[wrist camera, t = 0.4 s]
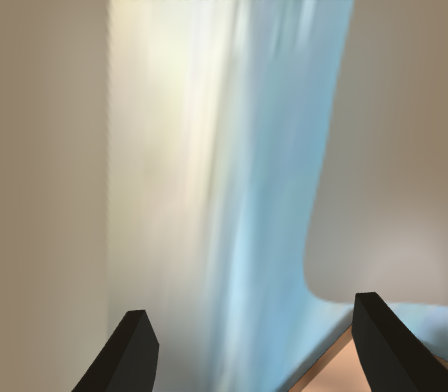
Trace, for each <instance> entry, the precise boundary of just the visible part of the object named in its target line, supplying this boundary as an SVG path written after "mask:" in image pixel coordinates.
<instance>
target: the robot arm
mask: <svg viewBox="0 0 448 392" xmlns="http://www.w3.org/2000/svg"><path fill="white" fill-rule="evenodd" d="M351 333H352V337H353V340H354V344H355V348H356V351H357V354H358V358H359V361H360V364H361V367H362V369H363V372H364V374H365V377H366V379H367V382H368V384H369V387H370V389H371V392H448V369H447V368H446V367H445V366H444V365H443V364H442V363H441V362H440V361H439V360H438V359H437V358H436V357H435V356H434V355H433V354H432V353H431V352H430V351H429V350H428V349H427V348H426V347H425V346H424V345H423V344H422V343H421V342H420V341H419V340H418V339H417V338H416V337H415V336H414V334H413V333H412V332H411V331H410V330H409V329H408V328H407V327H406V326H405V325H404V324H403V323H402V321H401V320H400V319H399V318H398V317H397V316H396V315H395V314H394V312H393V311H392V310H391V309H390V308H389V307H388V306H387V304H386V303H385V302H384V301H383V300H382V299H381V297H380V296H379V295H378V294H377V293H376V292H368V293H356V296H355V304H354V312H353V321H352V329H351ZM158 352H159V343H158V341H157V338H156V336H155V333H154V331H153V328H152V326H151V323H150V321H149V318H148V316H147V314H146V311H145V310H134V311H128V312H127V313H126V314H125V316H124V317H123V319H122V320H121V322H120V323H119V325H118V326H117V328H116V329H115V331H114V332H113V334H112V335H111V337H110V338H109V340H108V341H107V343H106V344H105V346H104V347H103V349H102V350H101V352H100V353H99V355H98V356H97V357H96V359H95V360H94V362H93V363H92V364H91V366H90V367H89V369H88V370H87V372H86V373H85V374H84V376H83V377H82V378H81V380H80V381H79V382H78V384H77V385H76V386H75V388H74V389H73V390H72V392H152V389H153V385H154V381H155V376H156V368H157V361H158Z"/></svg>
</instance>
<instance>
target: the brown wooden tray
mask: <svg viewBox="0 0 448 392" xmlns="http://www.w3.org/2000/svg"><path fill="white" fill-rule="evenodd" d="M351 329H352V325H351V326H350V327H349V328H348V329H347V330H346V331H345V332H344V333H343V334H342V335H341V336H340V337H339V338H338V339H337V341H336V342H335V343H334V344H333V345H332V346H331V347H330V348H329V349H328V350H327V351H326V352H325V353H324V354H323V355H322V356H321V357H320V358H319V360H318V361H317V362H316V363H315V364H314V365H313V366H312V367H311V368H310V369H309V370H308V371H307V372H306V373H305V374H304V375H303V376H302V377H301V379H300V380H299V381H298V382H297V383H296V384H295V385H294V386H293V387H292V388H291V389H290V390H289V391H288V392H371V389H370V387H369V384H368V382H367V379H366V377H365V374H364V372H363V369H362V367H361V364H360V361H359V358H358V354H357V351H356V348H355V344H354V340H353V337H352V333H351ZM434 356H435V355H434ZM435 357H436V358H437V359H438V360H439V361H440V362H441V363H442V364H443V365H444V366H445V367H446V368H447V369H448V362H447V361H445V360H443V359H441V358H439V357H437V356H435Z"/></svg>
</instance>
